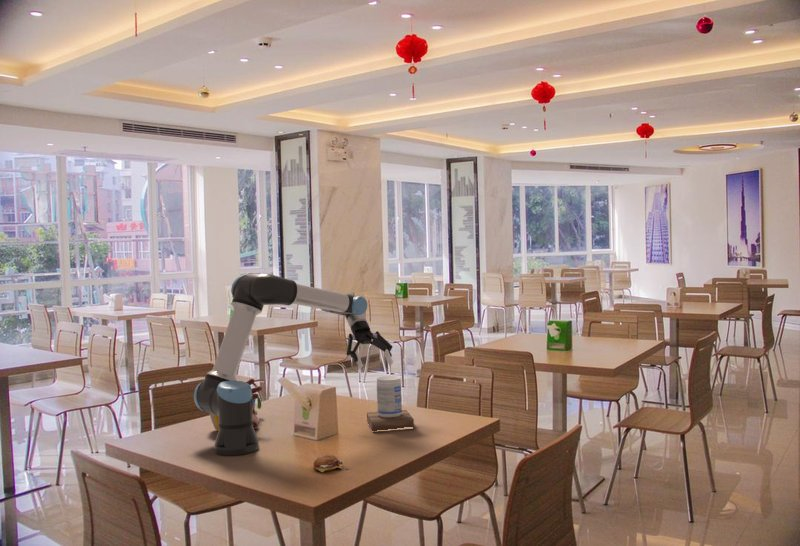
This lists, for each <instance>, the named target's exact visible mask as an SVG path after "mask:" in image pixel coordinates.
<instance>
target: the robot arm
mask: <svg viewBox="0 0 800 546" xmlns="http://www.w3.org/2000/svg"><path fill="white" fill-rule="evenodd" d="M230 292H231V296H232V301H231V305H232V308H233V311H232V313H231V316H230V319H229V321H228V324H227V327H226V331H225V333H224V334H223V335H224V336H223V339H222V342H221V344H220V347H219V350H218V353H217V357H216V359H215V361H214V364H213V367H212V369H211V370H210V371H208V372H206V375H205V376H204V380H202V381H201V382H200V383H198V384H197V385H196V387H195V389H194V392H193V400H194V404H195V406H196V407H197V409H199V410H200V411H201V412H203V413H205V414H208V415H210V414H212V415H216V416H218V419H219V431H218V432H217V435H216V438H215V441H214V446H213V448H214V453H215V454H216V455H220V456H227V457H228V456H230V457H231V456H241V455H246V454H251V453H254V452H256V451H257V450H258V449H259V447H260V446H259V445H260V442H259V439H258V436H257V433H256V431H255V428H253V413H252V390H251V388H252V385H249V384H248V383H246V382H247V381H243V380H237V377H236V375H237V372H238V370H239V366H240V363H241V361H242V357H243V355H244V351H245V349H246V346H247V344H248V340H249V337H250V335H251V331H252V328H253V325H254V323H255V319H256V316H258V315H260V314H261V313H262V311H263V309H264V306H269V305H270V306H273V305H275V306H276V305H281V306H282V305H284V306H291V305H298V306H304V307H309V308H315V309H320V310H321V311H323V312H325V313H330V314H334V315H340V316H344V317H345V319H346V321H347V323H348V326H349V329H350V331H351V333H348V336H347V347H346V353H345V354H346V356H347V357H348V356H350V358H352V360H353V362H354V363H356V365H357V368H358V369H359V371H360V370H362V368H363V366H364V365H363V362H362V360H361V359H362V358H361V357H360V355H359V353H358V352H357V350H358V348H359V346H360V345H372V346H374V347H376V348H377V349H379V350H381V351H382V352H384V353H383V355H384V356H385V359H386V361H387V364H388V366H389V367H391V366H392V365H393V363H394V360H393V358H392V357H393V355H392V352H391V351H392V349H393V347H394V346H393V345H392V344H391V343H389V341H387V340H386V339H385V338H384V337H383V336H382V335H381V334H380V331H375V332H372V331H371V328H370V325H369V323H368V320H367V318H366V316H365V313H366V312H367V310H368V301H367V299H366V298H365V297H364V296H359V295H355V294H352V293H349V294H347V293H342V292H337V291H332V290H328V289H322V288H318V287H313V286H309V285H303V284H298V283H297V282H296V280H292V279H288V278H284V277H281V276H278V275H275V274H270V273H251V272H250V273H244V274H241V275H240V276H237V278H236V279H235V280H233V283H232V285H231V289H230ZM354 340H355V341H356V344H355V345H354V347H353V350H352V345H353V341H354Z"/></svg>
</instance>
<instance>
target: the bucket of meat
mask: <svg viewBox="0 0 800 546" xmlns="http://www.w3.org/2000/svg"><path fill="white" fill-rule="evenodd" d="M245 382H246V383H248V384H249V385H250V386H252V385H253V384H254V383H255V379H254V378H250V379H249V380H247V381H245ZM262 389H263V387H262V386H260V385H258V386H256V387H253V388H252V387H251V390H252V400H253V399H256V400H257V398H258V397H259V398H260V395H259V392H261V391H262ZM252 413H253V428H254V429H257V428H259V427H260V425H259V417H258V416H257V415H258V411H257V410H255V408H254V407H253V401H252ZM209 416H210V419H211V423H212V424H213V425H212V426H213V427H214V429H215V431H219V419H218V416H216V415H212V414H209Z"/></svg>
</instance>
